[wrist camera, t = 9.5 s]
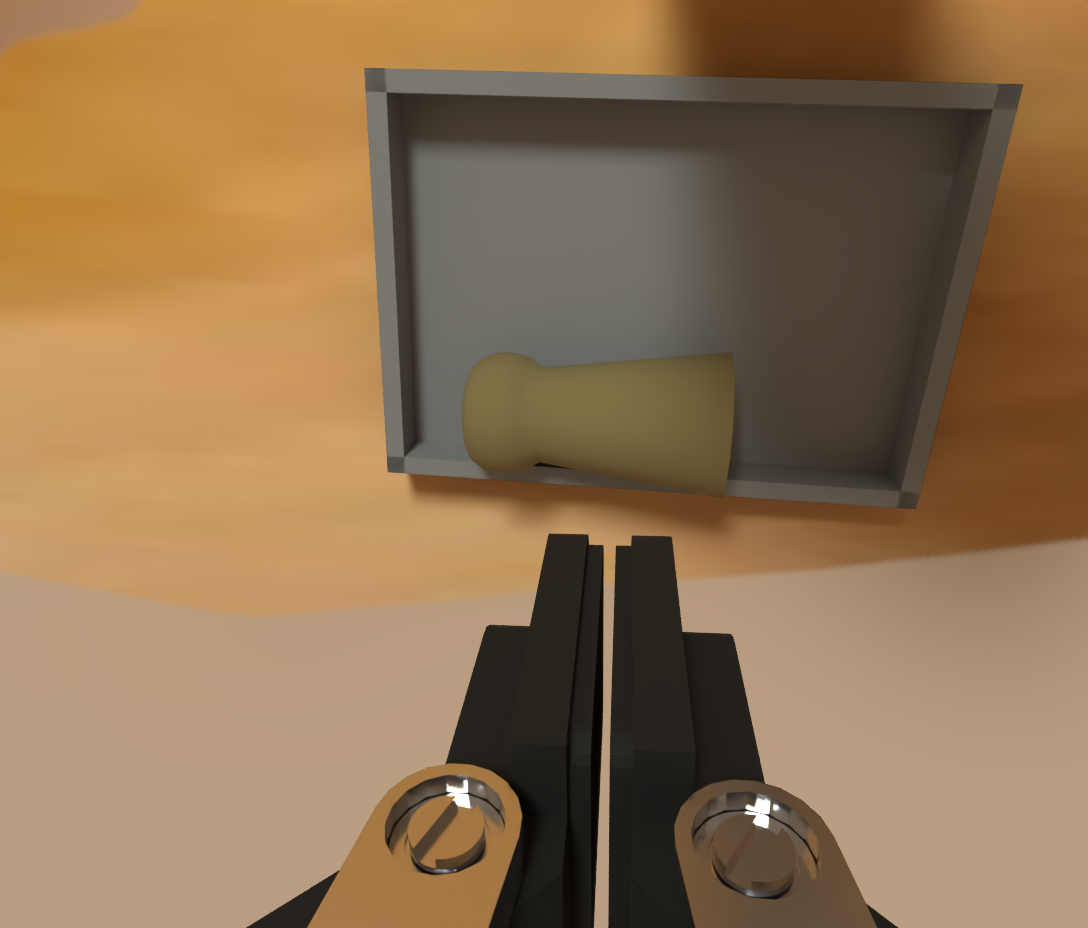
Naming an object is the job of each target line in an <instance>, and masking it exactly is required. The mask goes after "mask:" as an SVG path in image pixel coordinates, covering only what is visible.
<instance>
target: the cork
mask: <svg viewBox="0 0 1088 928" xmlns="http://www.w3.org/2000/svg"><path fill="white" fill-rule="evenodd" d="M734 399H735V368H734V359H733V355H732V353H731V352H726V353H714V354H702V355H690V356H678V357H666V358H654V359H642V360H630V361H618V362H606V363H594V364H583V365H571V366H559V367H547V368H544V367H542V366H541V365H539V364H538V363H537V362H535V361H534V360H533V359H531V358H530V357H527V356H524V355H521V354H517V353H507V352H501V353H496V354H491V355H488V356H487V357H485V358H483V359H481V360H480V361H478V362H477V363H476V364H475V365H474V367H473V368H472V370H471V371H470V374H469V376H468V378H467V382H466V386H465V391H464V397H463V405H462V429H463V438H464V444H465V447H466V450H467V452H468V454H469V456H470V458H471V459H472V461H473V462H475V463H476V464H477V465H479V466H480V467H482V468H483V469H486V470H489V471H492V472H496V473H513V472H518V471H524V470H527V469H529V468H530V467H532V466H534V465H535V464H537V463H539V462H541V463H546V464H551V465H557V466H562V467H567V468H572V469H577V470H582V471H587V472H592V473H597V474H603V475H608V476H613V477H618V478H623V479H628V480H633V481H638V482H644V483H649V484H654V485H659V486H664V487H669V488H674V489H679V490H684V491H690V492H695V493H700V494H705V495H710V496H715V497H720V498H722V495H723V493H724V490H725V486H726V481H727V476H728V469H729V463H730V454H731V445H732V435H733V420H734Z"/></svg>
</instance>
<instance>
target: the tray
mask: <svg viewBox="0 0 1088 928" xmlns="http://www.w3.org/2000/svg"><path fill="white" fill-rule="evenodd" d="M364 70H365V87H366V104H367V122H368V139H369V156H370V173H371V191H372V208H373V225H374V242H375V260H376V277H377V294H378V311H379V329H380V346H381V363H382V380H383V398H384V415H385V432H386V449H387V467H388V472H393V473H407V474H422V475H436V476H450V477H464V478H478V479H493V480H507V481H521V482H535V483H549V484H564V485H578V486H592V487H606V488H620V489H635V490H649V491H663V492H677V493H691V494H700V493H695V492H690V491H684V490H679V489H674V488H669V487H664V486H659V485H654V484H649V483H644V482H638V481H633V480H628V479H623V478H618V477H613V476H608V475H603V474H597V473H592V472H587V471H582V470H577V469H572V468H567V467H562V466H557V465H551V464H546V463H541V462H539V463H537V464H535V465H534V466H532V467H530V468H529V469H527V470H524V471H518V472H513V473H496V472H492V471H489V470H486V469H483V468H482V467H480V466H479V465H477V464H476V463H475V462H473V461H472V459H471V458H470V456H469V454H468V452H467V450H466V447H465V444H464V438H463V429H462V405H463V397H464V391H465V386H466V382H467V378H468V376H469V374H470V371H471V370H472V368H473V367H474V365H475V364H476V363H477V362H478V361H480V360H481V359H483V358H485V357H487V356H488V355H491V354H496V353H501V352H507V353H517V354H521V355H524V356H527V357H530V358H531V359H533V360H534V361H535V362H537V363H538V364H539V365H541V366H542V367H544V368H547V367H559V366H571V365H583V364H594V363H606V362H618V361H630V360H642V359H654V358H666V357H678V356H690V355H702V354H714V353H726V352H731V353H732V355H733V359H734V368H735V399H734V420H733V435H732V445H731V454H730V463H729V469H728V476H727V481H726V486H725V490H724V493H723V495H722V496H734V497H748V498H762V499H777V500H791V501H805V502H819V503H833V504H848V505H862V506H876V507H890V508H904V509H916V506H917V502H918V498H919V494H920V490H921V486H922V483H923V479H924V475H925V471H926V467H927V463H928V459H929V455H930V451H931V447H932V443H933V439H934V435H935V431H936V427H937V423H938V419H939V415H940V411H941V407H942V403H943V400H944V396H945V392H946V388H947V384H948V380H949V376H950V372H951V368H952V364H953V360H954V356H955V352H956V348H957V344H958V340H959V336H960V332H961V328H962V324H963V320H964V317H965V313H966V309H967V305H968V301H969V297H970V293H971V289H972V285H973V281H974V277H975V273H976V269H977V265H978V261H979V257H980V253H981V249H982V245H983V241H984V237H985V234H986V230H987V226H988V222H989V218H990V214H991V210H992V206H993V202H994V198H995V194H996V190H997V186H998V182H999V178H1000V174H1001V170H1002V166H1003V162H1004V158H1005V154H1006V151H1007V147H1008V143H1009V139H1010V135H1011V131H1012V127H1013V123H1014V119H1015V115H1016V111H1017V107H1018V103H1019V99H1020V95H1021V91H1022V87H1023V84H987V83H947V82H907V81H866V80H826V79H786V78H746V77H706V76H666V75H626V74H586V73H545V72H505V71H465V70H425V69H385V68H364Z"/></svg>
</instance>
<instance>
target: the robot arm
mask: <svg viewBox="0 0 1088 928" xmlns="http://www.w3.org/2000/svg"><path fill="white" fill-rule="evenodd" d="M603 577H604V548H603V545H589V537H588V535H585V534H549V535H548V540H547V545H546V549H545V554H544V559H543V564H542V569H541V574H540V579H539V584H538V589H537V594H536V599H535V604H534V609H533V613H532V619H531V623H530V626H507V625H506V626H505V625H489V626H487V627H486V630H485V632H484V635H483V639H482V642H481V646H480V649H479V652H478V656H477V659H476V662H475V666H474V669H473V673H472V676H471V679H470V683H469V686H468V690H467V693H466V696H465V700H464V704H463V707H462V710H461V714H460V717H459V720H458V724H457V727H456V730H455V734H454V737H453V741H452V745H451V747H450V751H449V755H448V758H447V761H446V764H445V765H439V766H434V767H428V768H426V769H423V770H421V771H419V772H416V773H414V774H412V775H409V776H407V777H406V778H404V779H403V780H402V781H401V782H399V783H398V784H396V785H395V786H394V787H393V788H391V789H390V790H389V791H388V792H387V794H386V795H385V796H384V797H383V798H382V800H381V801H380V802H379V804H378V805H377V806H376V808H375V809H374V811H373V813H372V814H371V816H370V818H369V820H368V821H367V823H366V825H365V827H364V828H363V830H362V832H361V834H360V836H359V837H358V839H357V841H356V843H355V845H354V846H353V848H352V850H351V852H350V853H349V855H348V857H347V858H346V860H345V862H344V864H343V865H342V867H341V869H340V870H339V871H337V872H336V873H334V874H333V875H331V876H329V877H328V878H326V879H324V880H323V881H321V882H319V883H318V884H316V885H315V886H313V887H311V888H310V889H309V890H307V891H305V892H303V893H302V894H300V895H298V896H297V897H295V898H294V899H292V900H291V901H289V902H287V903H286V904H284V905H282V906H281V907H279V908H277V909H276V910H274V911H273V912H271V913H269V914H268V915H266V916H264V917H263V918H261V919H260V920H258V921H256V922H255V923H253V924H252V925H250V926H248V927H247V928H594V910H595V885H596V865H597V864H596V863H597V842H598V818H599V796H600V772H601V749H602V727H603ZM680 616H681V615H680V607H679V598H678V589H677V579H676V570H675V561H674V553H673V544H672V537H667V536H632V543H631V546H616V563H615V597H614V630H613V632H614V634H613V663H612V667H613V668H612V697H611V734H610V803H609V804H610V806H609V815H610V817H609V925H608V926H609V927H608V928H898V927H896V926H895V925H894V924H892V923H891V922H890V921H888V920H887V919H886V918H884V917H883V916H882V915H880V914H879V913H878V912H876V911H875V910H874V909H873V908H871V907H870V906H869V905H867V904H866V903H865V901H864V899H863V897H862V895H861V893H860V891H859V888H858V886H857V884H856V882H855V880H854V878H853V876H852V874H851V871H850V869H849V867H848V865H847V863H846V861H845V859H844V857H843V855H842V852H841V850H840V848H839V846H838V844H837V842H836V840H835V838H834V836H833V835H832V833H831V832H830V830H829V829H828V827H827V826H826V824H825V823H824V821H823V820H822V818H821V817H820V816H819V815H818V814H817V813H816V812H815V811H814V810H812V809H811V808H810V807H809V806H808V805H807V804H806V803H805V802H803V801H802V800H801V799H799V798H797V797H795V796H793V795H792V794H790V793H788V792H786V791H784V790H782V789H781V788H778V787H775V786H771V785H768V784H765V782H764V777H763V773H762V768H761V764H760V758H759V754H758V749H757V745H756V740H755V735H754V730H753V726H752V721H751V716H750V712H749V707H748V702H747V698H746V693H745V688H744V684H743V679H742V674H741V669H740V665H739V660H738V655H737V651H736V646H735V642H734V639H733V636H732V635H731V634H720V633H693V632H682V625H681V617H680Z"/></svg>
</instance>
